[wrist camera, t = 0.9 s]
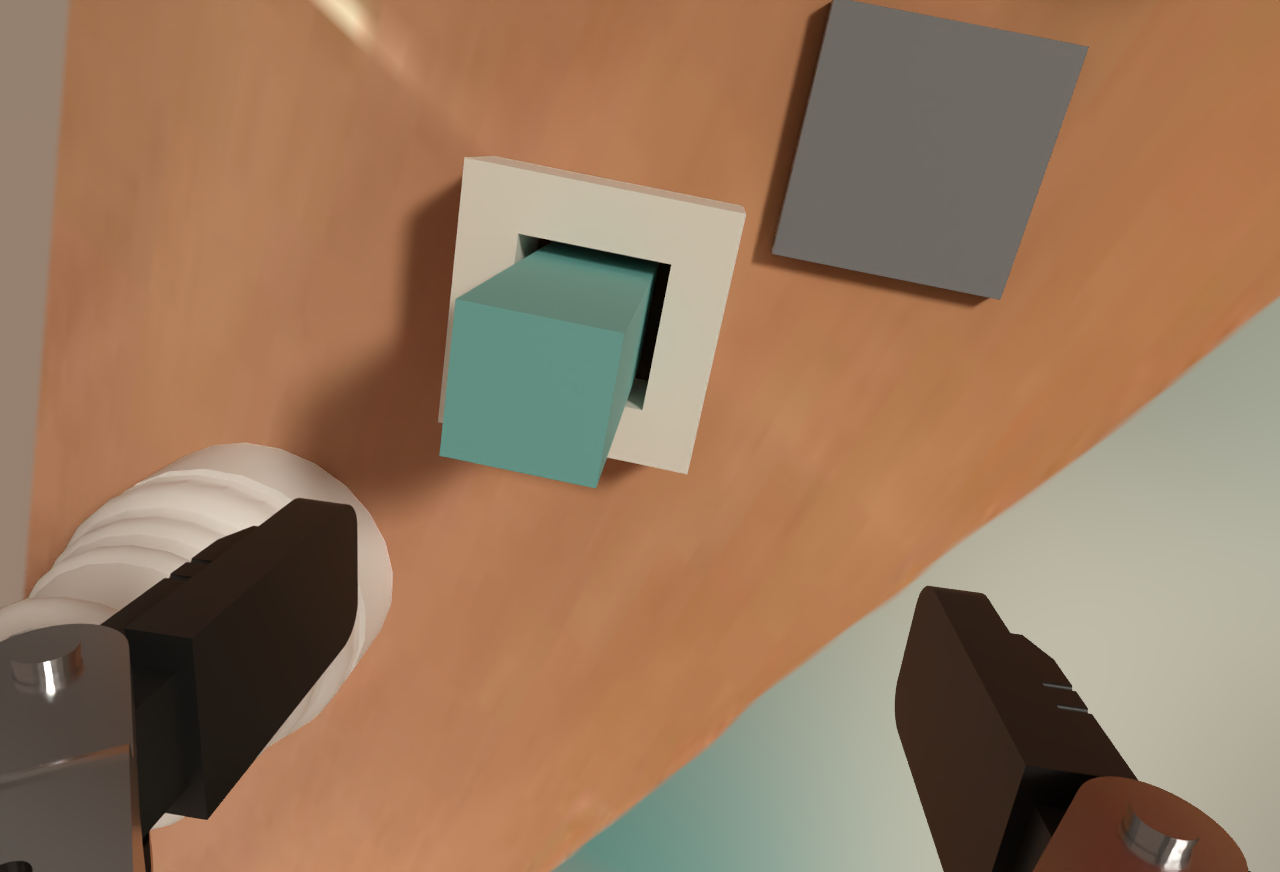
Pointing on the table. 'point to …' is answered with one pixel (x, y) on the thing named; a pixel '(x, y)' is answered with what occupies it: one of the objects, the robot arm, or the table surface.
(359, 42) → the table surface
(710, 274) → the pocket block
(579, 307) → the block
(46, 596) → the honey pot
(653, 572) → the table surface
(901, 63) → the coaster
